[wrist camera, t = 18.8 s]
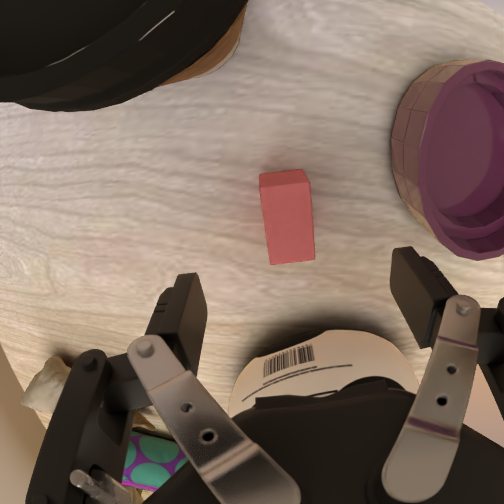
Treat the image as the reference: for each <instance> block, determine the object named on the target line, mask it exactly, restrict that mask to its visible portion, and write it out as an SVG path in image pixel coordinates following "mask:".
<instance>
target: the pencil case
mask: <svg viewBox="0 0 504 504" xmlns="http://www.w3.org/2000/svg"><path fill="white" fill-rule="evenodd" d="M188 460H189V459H188V458H187V457H186V455H185V454H184V452H183V451H182V449H181V448H180V446H179V445H178V443H177V442H174V441H169V440H165V439H161V438H158V437H154V436H149V435H145V434H142V433H138V432H134V431H131V436H130V441H129V446H128V451H127V456H126V462H125V467H124V473H123V478H122V485H125V486H132V487H135V488H139V489H146V490H150V491H154V492H155V491H156V490H157V489H158V488H159V487H160V486H161V485H162V484H164V483H165V482H166V481H167V480H168V479H169V478H170V477H171V476H172V475H173V474H174V473H175V472H176V471H177V470H178V469H179V468H180V467H182V466H183V465H184V464H185V463H186V462H187V461H188Z"/></svg>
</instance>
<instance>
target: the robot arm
mask: <svg viewBox="0 0 504 504" xmlns="http://www.w3.org/2000/svg"><path fill="white" fill-rule="evenodd" d="M390 289H391V293H392V295H393V297H394V299H395V301H396V303H397V304H398V306H399V308H400V310H401V312H402V314H403V316H404V318H405V319H406V321H407V323H408V325H409V327H410V329H411V331H412V333H413V335H414V337H415V339H416V341H417V343H418V345H419V347H420V349H423V348H427V347H431V349H432V353H431V356H430V359H429V362H428V364H427V367H426V370H425V373H424V376H423V378H422V381H421V384H420V386H419V389H418V391H417V394H414V393H412V392H409V391H406V390H401V389H395V388H388V387H387V384H386V382H385V379H383V380H378V381H373V382H368V383H363V384H357V385H353V386H351V387H348V388H346V389H343V390H341V391H338V392H336V393H333V394H331V395H328V396H325V397H310V396H298V395H279V396H268V397H255V407H253V408H249V409H247V410H244V411H242V412H240V413H238V414H236V415H235V416H233V417H232V418H230V417H229V416H228V415H227V413H226V412H225V411H224V410H223V409H222V408H221V407H220V405H219V404H218V403H217V402H216V401H215V400H214V398H213V397H212V396H211V395H210V394H209V393H208V391H207V390H206V389H205V388H204V387H203V385H202V384H201V383H200V382H199V380H198V379H197V378H196V377H197V371H198V365H199V360H200V354H201V349H202V343H203V338H204V332H205V327H206V321H207V304H206V301H205V297H204V294H203V290H202V287H201V283H200V280H199V276H198V274H197V273H187V274H179V275H178V276H177V279H176V281H175V284H174V287H169V288H167V289H166V290H165V291H164V292H163V293H162V294H161V295H160V297H159V299H158V302H157V306H156V307H155V309H154V313H153V314H152V317H151V320H150V322H149V325H148V327H147V330H146V332H145V335H144V336H142V337H139V338H137V339H136V340H134V341H133V342H132V343H131V344H130V346H129V347H128V349H127V353H125V354H121V355H118V356H114V357H110V358H107V356H106V355H105V353H104V352H103V351H102V350H99V349H92V350H88V351H86V352H84V353H82V354H81V355H80V356H79V357H78V358H77V359H76V360H75V362H74V364H73V366H72V368H71V371H70V373H69V375H68V378H67V380H66V382H65V385H64V387H63V390H62V392H61V395H60V397H59V400H58V402H57V405H56V407H55V410H54V412H53V415H52V418H51V420H50V423H49V426H48V429H47V431H46V434H45V437H44V440H43V443H42V446H41V449H40V452H39V455H38V458H37V461H36V465H35V468H34V471H33V474H32V478H31V481H30V484H29V488H28V492H27V495H26V500H25V502H26V503H25V504H131V497H130V494H129V492H128V490H127V489H126V488H125V487H124V486H123V485H122V478H123V473H124V467H125V462H126V456H127V451H128V446H129V441H130V436H131V431H132V426H133V421H134V417H135V412H136V409H139V408H143V407H148V406H151V405H154V407H155V409H156V410H157V412H158V414H159V415H160V417H161V419H162V420H163V422H164V423H165V425H166V427H167V428H168V430H169V431H170V433H171V434H172V436H173V437H174V439H175V440H176V442H177V443H178V445H179V446H180V448H181V449H182V451H183V452H184V454H185V455H186V457H187V458H188V459H189V460H188V461H187V462H186V463H185V464H184V465H183V466H182V467H180V468H179V469H178V470H177V471H176V472H175V473H174V474H173V475H172V476H171V477H170V478H169V479H168V480H167V481H166V482H165V483H164V484H162V485H161V486H160V487H159V488H158V489H157V490H156V491H155V492H154V493H153V494H152V495H150V496H149V497H148V498H147V499H146V500H145V501H144V502H143V503H141V504H504V448H503V447H501V446H500V445H498V444H497V443H495V442H493V441H492V440H490V439H488V438H487V437H485V436H483V435H482V434H480V433H478V432H477V431H475V430H473V429H472V428H470V427H468V426H467V425H465V424H463V420H464V417H465V413H466V409H467V406H468V402H469V398H470V393H471V389H472V385H473V380H474V375H475V370H476V365H477V364H479V366H480V368H481V370H482V372H483V374H484V376H485V379H486V381H487V383H488V385H489V387H490V389H491V392H492V394H493V396H494V398H495V401H496V403H497V405H498V408H499V410H500V412H501V415H502V418H503V420H504V297H503V298H502V299H500V301H499V303H498V306H497V308H480V305H479V304H478V302H477V301H476V300H474V299H473V298H471V297H469V296H466V295H459V294H458V293H457V292H456V290H455V289H454V288H453V286H452V285H451V284H450V283H449V281H448V280H447V279H446V278H445V277H444V275H443V274H442V273H441V271H439V269H438V268H437V266H436V265H435V264H434V263H433V262H432V261H430V260H429V259H427V258H426V257H424V256H422V257H420V256H419V255H418V253H417V252H416V251H415V250H414V248H413V247H411V246H408V247H401V248H395V249H394V250H393V253H392V264H391V274H390Z"/></svg>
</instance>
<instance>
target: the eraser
mask: <svg viewBox="0 0 504 504" xmlns="http://www.w3.org/2000/svg"><path fill="white" fill-rule="evenodd" d="M259 189H260V196H261V203H262V210H263V217H264V224H265V231H266V238H267V245H268V253H269V260H270V264H271V265H275V264H284V263H292V262H301V261H309V260H315V246H314V230H313V216H312V203H311V191H310V182H309V180H308V178H307V176H306V175H305V173H304V171H303V169H299V170H290V171H281V172H273V173H265V174H260V175H259Z"/></svg>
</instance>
